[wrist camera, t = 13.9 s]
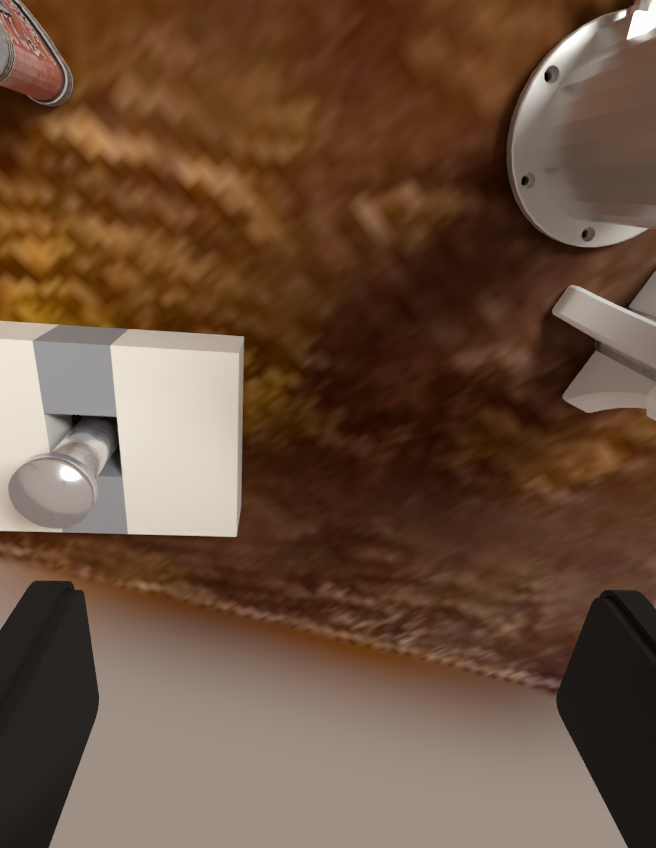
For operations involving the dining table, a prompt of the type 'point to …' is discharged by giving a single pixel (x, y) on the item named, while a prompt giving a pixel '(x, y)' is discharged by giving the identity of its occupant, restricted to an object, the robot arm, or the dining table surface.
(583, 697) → the robot arm
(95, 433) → the steel pin
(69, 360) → the clevis block
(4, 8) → the lighter
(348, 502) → the dining table surface
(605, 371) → the toy gun turret
